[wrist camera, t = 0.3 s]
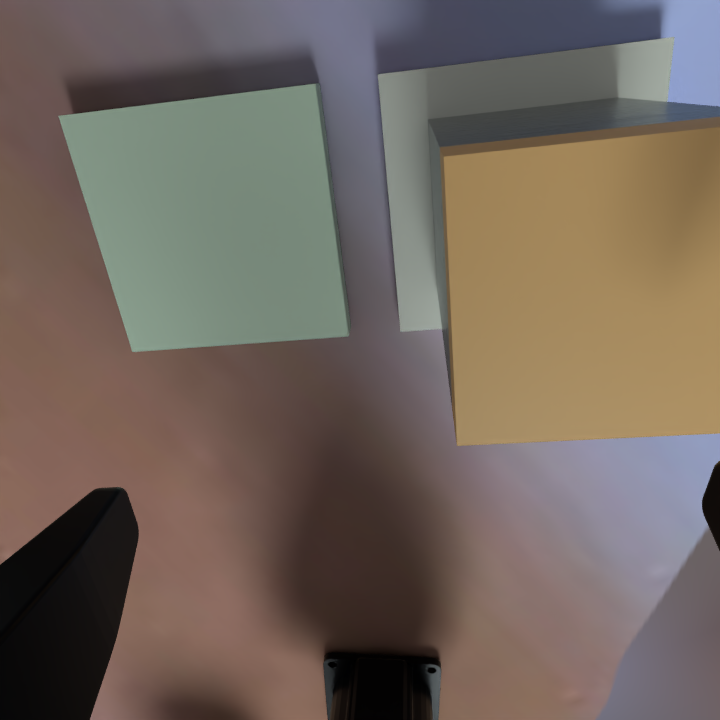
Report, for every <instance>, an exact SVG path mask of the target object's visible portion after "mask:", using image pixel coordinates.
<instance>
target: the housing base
mask: <svg viewBox="0 0 720 720" xmlns="http://www.w3.org/2000/svg"><path fill="white" fill-rule="evenodd" d="M712 117H720V107H718V106H707V105H696V104H685V103H674V102H663V101H652V100H642V99H631V98H620V97H617V98H609V99H600V100H591V101H583V102H574V103H565V104H557V105H548V106H539V107H531V108H522V109H513V110H505V111H496V112H487V113H479V114H470V115H461V116H453V117H444V118H436V119H428V135H429V152H430V170H431V188H432V206H433V224H434V241H435V259H436V277H437V293H438V301H439V309H440V317H441V325H442V332H443V340H444V348H445V356H446V364H447V371H448V379H449V387H450V395H451V403H452V391H451V370H450V350H449V329H448V308H447V288H446V267H445V247H444V226H443V206H442V185H441V165H440V147H447V146H456V145H465V144H474V143H483V142H493V141H502V140H511V139H520V138H529V137H538V136H547V135H556V134H566V133H575V132H584V131H593V130H602V129H611V128H620V127H630V126H639V125H648V124H657V123H666V122H675V121H684V120H693V119H703V118H712Z"/></svg>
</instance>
